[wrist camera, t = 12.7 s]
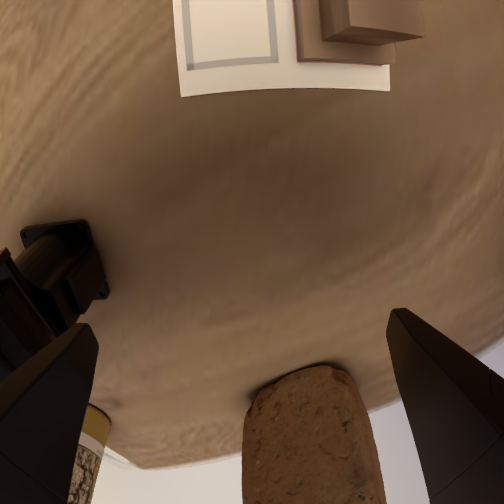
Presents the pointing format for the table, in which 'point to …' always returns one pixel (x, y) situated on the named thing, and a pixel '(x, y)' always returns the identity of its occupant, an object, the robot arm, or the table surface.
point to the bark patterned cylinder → (88, 456)
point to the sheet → (254, 50)
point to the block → (310, 443)
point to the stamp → (355, 29)
